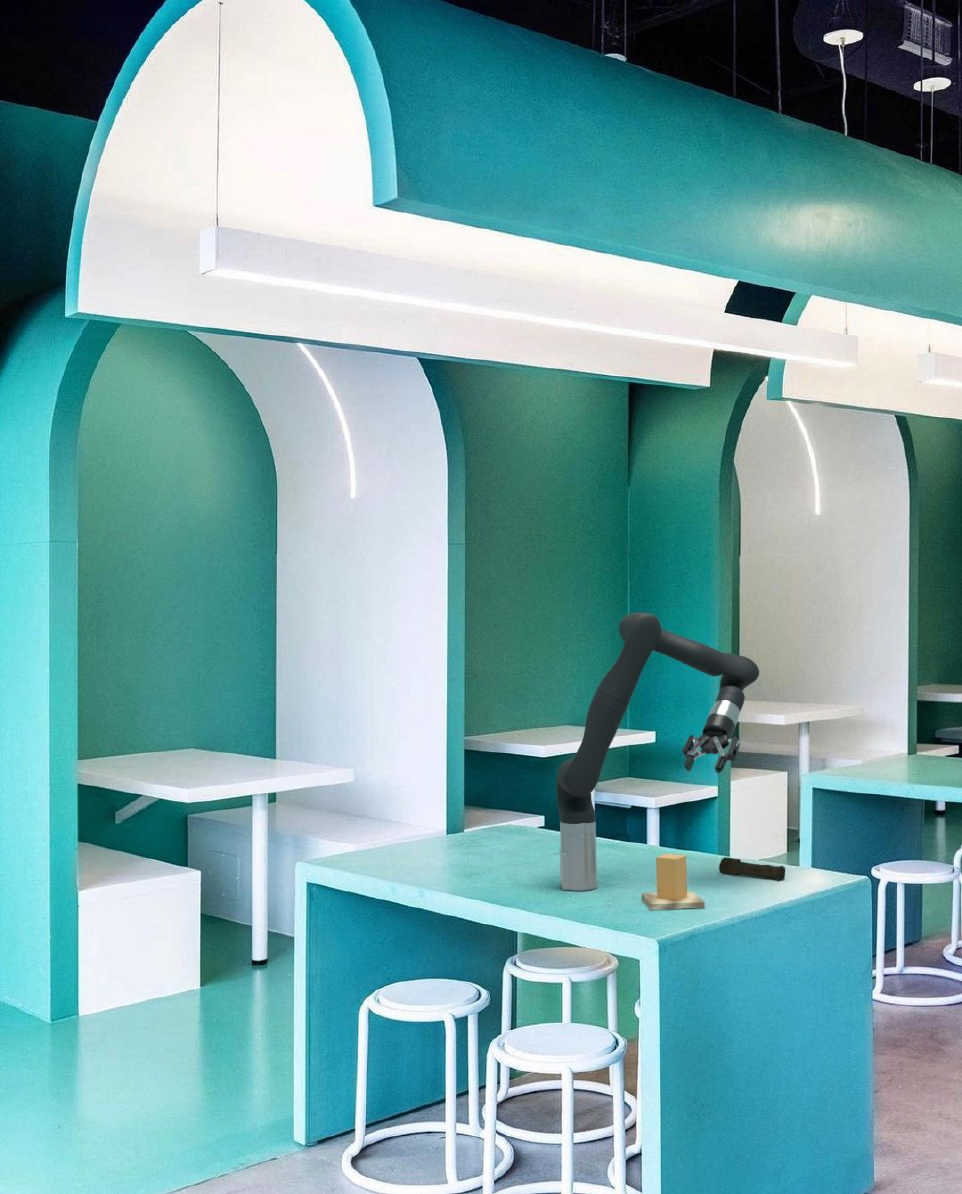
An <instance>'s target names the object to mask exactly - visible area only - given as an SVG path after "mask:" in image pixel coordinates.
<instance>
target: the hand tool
mask: <svg viewBox="0 0 962 1194" xmlns="http://www.w3.org/2000/svg"><path fill="white" fill-rule="evenodd" d="M718 869H719V873H721V874H723V875H728V876H737V877H738V876H741V875H742V876H743V875H745V876H752V877H758V878H766V879H771V880H777V881H778V882H781V881H784V879H785V877H786V867H785V866H784V865H779V866H778V865H777V866H776V865H771V864H758V863H749V862H744V861H742V860H741V859H740V858H732V857H726V856H724V857H723V858H721V860H720V862H719V865H718ZM780 880H781V881H780Z"/></svg>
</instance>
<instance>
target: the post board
mask: <svg viewBox="0 0 962 1194" xmlns="http://www.w3.org/2000/svg"><path fill="white" fill-rule="evenodd" d="M641 900H642V901H643V903H644V904H645V906H647V908H648V909H649V910H650V911H668V910H667V909H677V910H682V909H681V908H704V909H705V908H706V907H705V904H706V903H705V901H704V900H703V899H702V898H701V897H700V896H699V895H698V894H697V893H696V892H694V890H693V891H692V890H691V891H689V890H687V897H685V898H682V899H680V900H677V901H675V900H667V899H659V898H657V892H641ZM679 908H680V909H679Z"/></svg>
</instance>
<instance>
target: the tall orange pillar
mask: <svg viewBox="0 0 962 1194" xmlns="http://www.w3.org/2000/svg"><path fill="white" fill-rule="evenodd" d="M687 864H688V863H687V855H681V854H671V853H665V854H661V855H659V856H656V857H655V866H656V867H655V869H656V870H655V873H656V876H655V877H656V893H657V898H659V899H667V900H675V901H677V900H680V899H682V898H685V897H687V891H688V876H687V875H688V871H687V869H688V868H687Z"/></svg>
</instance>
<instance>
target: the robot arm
mask: <svg viewBox="0 0 962 1194" xmlns="http://www.w3.org/2000/svg"><path fill="white" fill-rule="evenodd" d="M618 632H619V633H618V634H619V636H620V638H621V639H622V640H623V643H624V644H623V646H622V649H621V652H620V653H619V656H618V658H617V659H616V661H615V662H614V664H613V665H612V667H611V668H610V669H609V670H608V671H607V673H606V674H604V677H603V678H602V680H601V681H600V683H599V684H598V686H597V688H596V690H595V692H594V695H593V697H592V700H591V702H590V704H589V706H588V710H587V715H586V719H585V720H586V721H585V727H584V732H583V735H582V736H583V737H582V740H581V743H580V744H579V747H578V749H577V752H576V753H575V755H574V757H573V758H569V759H567V760H564V761H563V762H562V763H561V764H560V765H559V767H558V769H557V772H556V798H557V799H556V800H557V810H558V813H559V827H560V828H559V829H560V830H559V834H560V849H559V869H560V870H559V872H560V873H559V874H560V875H559V879H560V880H559V881H560V887H561V889H562V890H563V891H577V892H578V891H579V892H580V891H591V890H594V889H597V888H598V871H597V870H598V869H597V868H598V867H597V865H598V864H597V863H598V862H597V833H596V831H597V828H596V827H597V826H596V824H597V823H596V811H595V808H594V806H593V805H594V804H593V800H592V792H594V790H595V788H596V787H597V786H598V785H597V784H598V781H599V779H600V776H601V772H602V770H603V766H604V762H605V760H606V756H607V754H608V751H609V748H610V747H611V744H612V742H613V740H614V738H615V737H616V734H617V732H618V730H619V726H620V725H621V723H622V720H623V719H624V718H625V717H624V716H625V714H626V712H627V709H628V707H629V704H630V702H631V699H632V696H633V694H634V692H635V690H636V688H637V685H638V682H639V680H640V677H641V675H642V672H643V670H644V668H645V665H646V664H647V662H648V660H649V658H650V656H651V654H652V653H653V651H654V652H656V653H659V654H662V655H664V656H667V657H669V658H672V659H673V660H675V661H677V662H679V663H682V664H684V665H686V666H688V667H690V668H692V669H694V670H697V671H699V672H701V673H703V674H706V675H708V676H710V677H718V676H721V678H720V681H719V682H720V683H719V684H720V685H719V691H718V693H717V694H718V695H717V697H716V699H715V702H714V704H713V705H712V707H711V709H710V712H709V713H708V716H707V719H706V721H705V722H704V726H703V728H702V734H701V735H700V736H699V737H695V736H694V735H693V734H690V735H689V736H688V738H687V740H686V742H685V744H684V746H683V748H682V750H681V751H682V754H683V756H684V757H685V761H684V764H683V766H684V768H685V770H686V771H687V772H691V771H692V767H693V765H694V763H695V761H696V759H697V758H699V757H700V758H701V757H703V756H704V755H710V754H712V755H717V754H719V755H720V756H718V759H717V760H716V763H715V766H714V770H715V772H716V773H717V774H721V772H723V770H724V768H725V766H726V764H727V762H729V761H731V762H734V761H736V758H737V754H738V752H739V748H740V745H741V743H740V741H739V740H738V738H737V736H733V734H734V731H735V730H736V726H737V725H738V721H739V718H740V714H741V711H742V709H743V706H744V702H745V700H746V698H745V693H744V692H743V691H744V690H745V688H747V687H749V686H751V684H753V683H755V682H756V681H757V679H759V676H760V670H759V669H760V668H759V667H758V665H757V664H756V662H754V661H753V660H752V659H750V658H748V657H747V656H743V655H739V654H734V653H730V652H722V651H720V650H718V649H716V648H714V647H712V646H708V645H707V644H704V643H701V642H699V641H696V640H693V639H691V638H687V637H684V636H681V635H678V634H676V633H674V632H671V631H668V630H667V629H664V628H663V627H662V625H661V621H660V620H659V618H658V617H657V615H654V614H653V613H649V612H637V611H636V612H631V613H628V614H626V615H625V616H623V618H622V619H621V620H620V622H619V625H618ZM732 736H733V737H732ZM728 746H729V747H728ZM727 747H728V752H725V749H726V748H727ZM700 748H701V750H700Z"/></svg>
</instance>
